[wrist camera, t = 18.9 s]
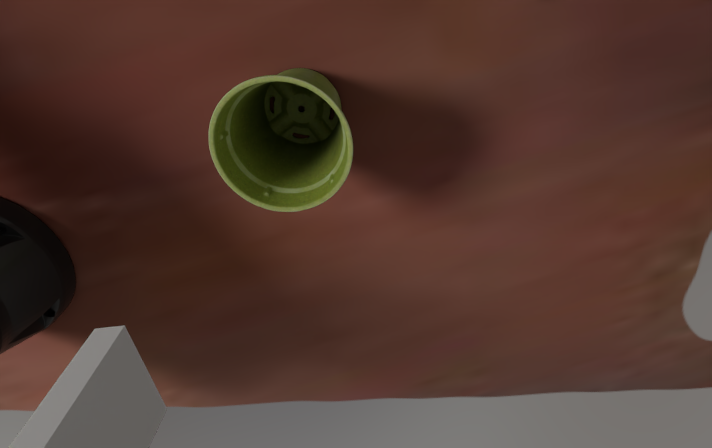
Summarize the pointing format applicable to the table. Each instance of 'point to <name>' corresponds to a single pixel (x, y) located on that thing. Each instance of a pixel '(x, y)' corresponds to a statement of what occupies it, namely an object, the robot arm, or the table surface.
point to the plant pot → (282, 141)
